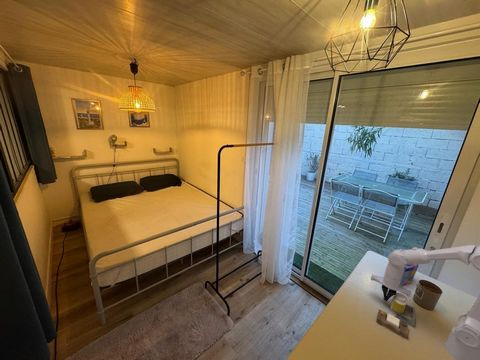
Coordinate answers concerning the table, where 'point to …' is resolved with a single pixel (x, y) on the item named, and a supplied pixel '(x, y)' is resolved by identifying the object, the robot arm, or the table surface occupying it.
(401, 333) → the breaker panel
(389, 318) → the button
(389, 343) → the table surface
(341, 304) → the table surface
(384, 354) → the table surface
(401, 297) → the supplement bottle
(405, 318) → the lockout bracket
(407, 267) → the ink cartridge box
